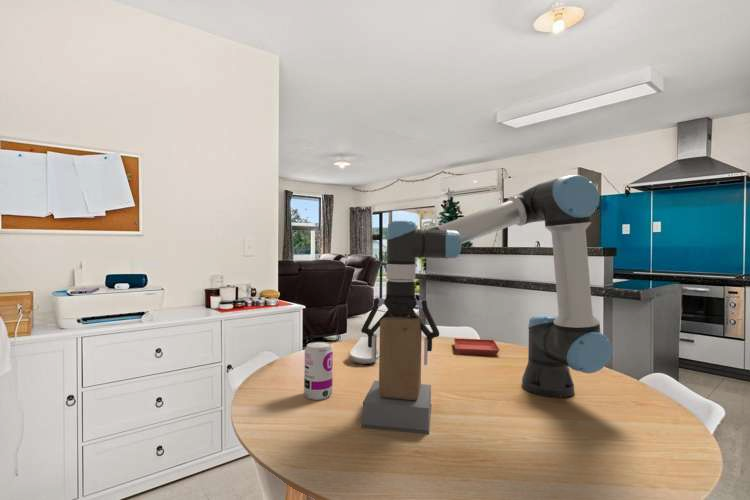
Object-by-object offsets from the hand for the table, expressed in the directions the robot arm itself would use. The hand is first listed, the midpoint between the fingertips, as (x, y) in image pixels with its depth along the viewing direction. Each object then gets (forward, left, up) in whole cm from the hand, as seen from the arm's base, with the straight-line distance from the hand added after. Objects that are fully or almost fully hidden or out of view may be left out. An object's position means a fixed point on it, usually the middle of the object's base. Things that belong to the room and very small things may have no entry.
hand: (399, 361), depth 101 cm
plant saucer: (-25, -73, -15) cm, 79 cm away
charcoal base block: (0, 0, -14) cm, 14 cm away
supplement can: (+25, -9, -14) cm, 30 cm away
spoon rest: (+20, -51, -15) cm, 57 cm away
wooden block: (0, 0, -8) cm, 8 cm away
